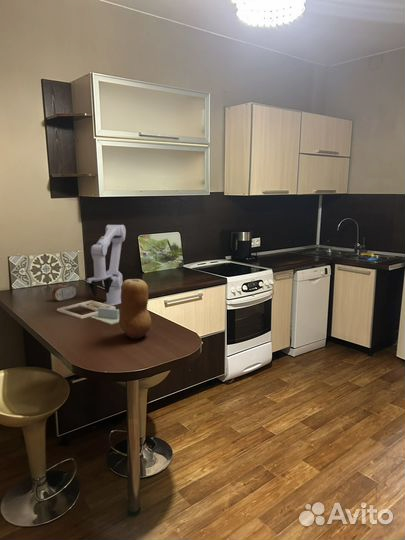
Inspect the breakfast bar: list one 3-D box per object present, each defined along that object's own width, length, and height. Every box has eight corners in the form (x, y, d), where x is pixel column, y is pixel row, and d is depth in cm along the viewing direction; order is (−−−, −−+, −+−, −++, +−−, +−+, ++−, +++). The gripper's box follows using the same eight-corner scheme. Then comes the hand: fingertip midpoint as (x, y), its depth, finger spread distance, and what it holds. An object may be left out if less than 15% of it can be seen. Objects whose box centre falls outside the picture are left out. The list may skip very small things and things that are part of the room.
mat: (106, 313, 203) (106, 312, 203) (127, 319, 193) (127, 318, 193) (90, 317, 195) (90, 316, 195) (111, 324, 186) (111, 323, 186)
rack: (91, 302, 222) (91, 300, 222) (115, 309, 209) (115, 306, 209) (57, 311, 206) (56, 308, 206) (81, 319, 193) (81, 316, 193)
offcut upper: (94, 304, 217) (94, 302, 216) (106, 308, 211) (106, 305, 210) (88, 306, 214) (88, 304, 213) (100, 309, 208) (100, 307, 208)
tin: (75, 296, 236) (74, 282, 234) (78, 297, 234) (77, 283, 232) (52, 301, 224) (51, 287, 223) (55, 302, 222) (54, 288, 221)
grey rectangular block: (100, 315, 197) (100, 307, 196) (119, 318, 193) (119, 309, 192) (98, 316, 195) (97, 308, 195) (117, 319, 191) (116, 310, 191)
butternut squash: (158, 336, 170) (156, 279, 165) (133, 345, 160) (131, 285, 156) (137, 329, 179) (135, 275, 174) (112, 337, 169) (110, 280, 165)
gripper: (106, 265, 209) (107, 290, 212) (82, 269, 198) (84, 295, 201) (115, 266, 205) (116, 292, 208) (91, 270, 194) (92, 297, 196)
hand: (101, 294), depth 204 cm, fingers open, 7 cm apart
